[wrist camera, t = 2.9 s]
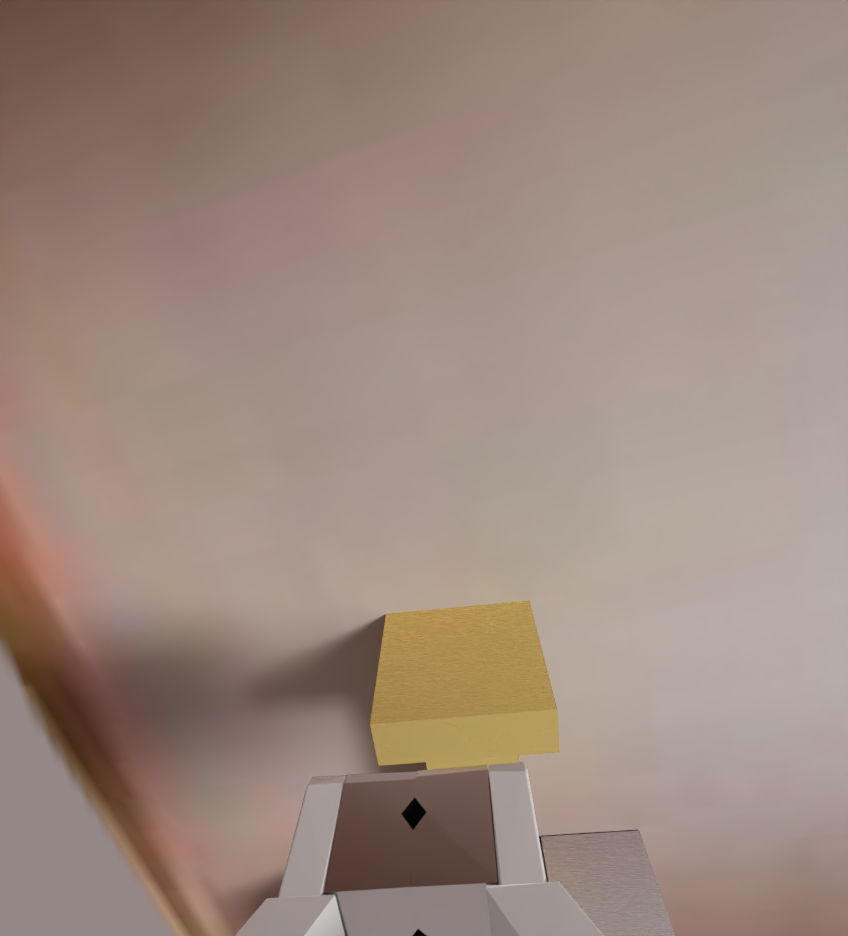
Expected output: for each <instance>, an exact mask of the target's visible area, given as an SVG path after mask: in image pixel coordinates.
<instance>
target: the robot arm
mask: <svg viewBox="0 0 848 936" xmlns="http://www.w3.org/2000/svg"><path fill="white" fill-rule="evenodd" d="M488 770H489V774H488ZM489 780H490V782H489ZM490 790H491V791H490ZM235 936H604V935H603V934H602V933H601V931H600V930H599V929H598V928H597V927H596V925H595V924H594V923H593V922H592V921H591V919H590V918H589V917H588V916H587V915H586V913H585V912H584V911H583V910H582V909H581V907H580V906H579V905H578V904H577V903H576V901H575V900H574V899H573V898H572V897H571V895H570V894H569V893H568V892H567V891H566V889H565V888H564V887H563V886H562V885H561V883H560V882H547V881H546V875H545V869H544V863H543V857H542V852H541V846H540V840H539V834H538V828H537V823H536V817H535V811H534V805H533V800H532V794H531V788H530V782H529V776H528V771H527V767H526V765H525V763H524V762H518V763H506V764H493V765H489V768H488V766H487V765H477V766H465V767H454V768H442V769H430V770H418V772H396V773H373V774H350V775H341V776H320V777H313V778H312V779H311V781H310V783H309V784H308V786H307V788H306V791H305V795H304V799H303V803H302V807H301V811H300V814H299V818H298V822H297V826H296V830H295V834H294V837H293V841H292V845H291V849H290V853H289V857H288V860H287V864H286V868H285V872H284V876H283V880H282V884H281V887H280V891H279V895H278V897H276V898H266V899H265V901H264V902H263V903H262V904H261V905H260V906H259V908H258V909H257V910H256V911H255V912H254V913H253V915H252V916H251V917H250V918H249V919H248V920H247V922H246V923H245V924H244V925H243V926H242V927H241V929H240V930H239V931H238V932H237V933H236V934H235Z"/></svg>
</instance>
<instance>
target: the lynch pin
mask: <svg viewBox="0 0 848 936" xmlns="http://www.w3.org/2000/svg"><path fill="white" fill-rule="evenodd" d="M370 727H371V732H372V737H373V742H374V747H375V751H376V756H377V761H378V766H382V765H396V764H409V763H422V762H426V766H427V770H430V769H442V768H454V767H465V766H477V765H487V766H488V768H489V765H493V764H506V763H518V762H519V755H529V754H542V753H555V752H560V751H559V733H558V716H557V707H556V703H555V699H554V695H553V691H552V687H551V683H550V680H549V676H548V672H547V668H546V664H545V660H544V656H543V652H542V648H541V644H540V640H539V636H538V632H537V629H536V625H535V621H534V617H533V613H532V609H531V605H530V601H522V602H512V603H501V604H490V605H479V606H468V607H457V608H446V609H436V610H425V611H414V612H403V613H392V614H386V617H385V624H384V631H383V638H382V645H381V652H380V658H379V665H378V672H377V679H376V686H375V693H374V699H373V706H372V713H371V720H370ZM488 774H489V770H488ZM489 782H490V780H489ZM490 791H491V790H490Z"/></svg>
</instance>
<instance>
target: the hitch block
mask: <svg viewBox="0 0 848 936" xmlns="http://www.w3.org/2000/svg"><path fill="white" fill-rule="evenodd" d="M541 844H542V856H543V863H544V869H545V875H546V881H547V882H560V883H561V885H562V886H563V887H564V888H565V889H566V891H567V892H568V893H569V894H570V895H571V897H572V898H573V899H574V900H575V901H576V903H577V904H578V905H579V906H580V907H581V909H582V910H583V911H584V912H585V913H586V915H587V916H588V917H589V918H590V919H591V921H592V922H593V923H594V924H595V925H596V927H597V928H598V929H599V930H600V931H601V933H602V934H603V935H604V936H675V934H674V931H673V928H672V925H671V922H670V919H669V916H668V914H667V911H666V908H665V905H664V902H663V899H662V896H661V893H660V890H659V887H658V884H657V881H656V878H655V875H654V872H653V869H652V866H651V864H650V861H649V858H648V855H647V852H646V849H645V846H644V843H643V840H642V837H641V834H640V831H623V832H607V833H591V834H575V835H559V836H543V837H541Z"/></svg>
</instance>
